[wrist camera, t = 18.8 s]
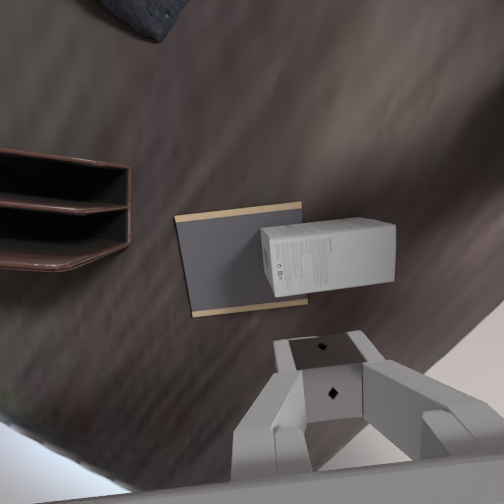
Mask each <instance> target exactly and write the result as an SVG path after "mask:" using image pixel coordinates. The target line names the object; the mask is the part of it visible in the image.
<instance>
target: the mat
mask: <svg viewBox="0 0 504 504" xmlns="http://www.w3.org/2000/svg"><path fill="white" fill-rule="evenodd" d="M175 221H176V225H177V231H178V236H179V242H180V247H181V253H182V258H183V264H184V269H185V275H186V280H187V286H188V291H189V297H190V302H191V308H192V315H193V317H200V316H209V315H218V314H226V313H235V312H244V311H252V310H261V309H270V308H278V307H287V306H295V305H304V304H308V299H307V293H306V294H299V295H292V296H284V297H275V296H274V293H273V290H272V288H271V286H270V283H269V281H268V279H267V277H266V275H265V273H264V263H263V253H262V243H261V231H260V229H261V228H265V227H274V226H283V225H293V224H301V223H303V222H302V204H301V202H292V203H284V204H275V205H266V206H257V207H249V208H240V209H231V210H222V211H213V212H205V213H196V214H187V215H178V216H175Z"/></svg>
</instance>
